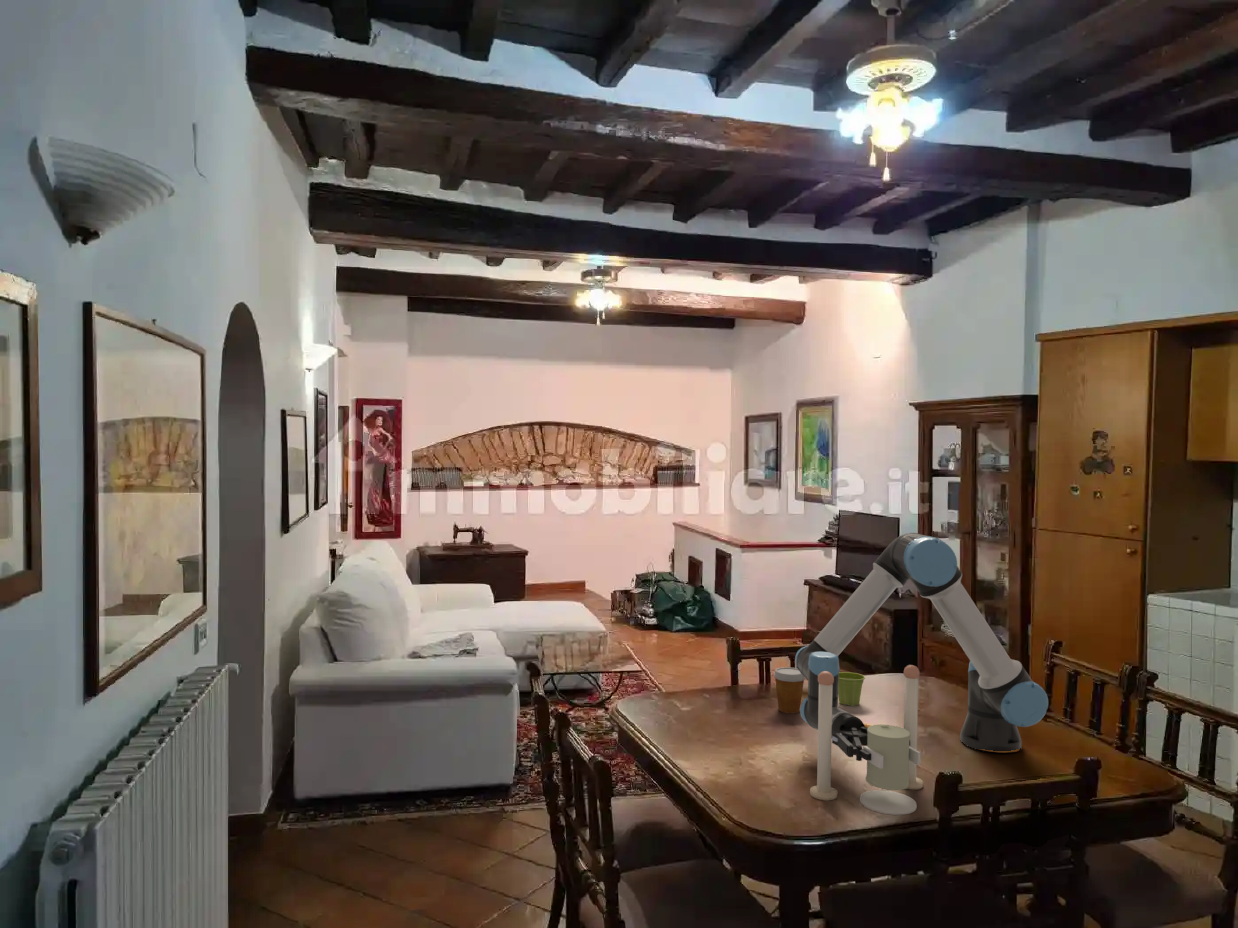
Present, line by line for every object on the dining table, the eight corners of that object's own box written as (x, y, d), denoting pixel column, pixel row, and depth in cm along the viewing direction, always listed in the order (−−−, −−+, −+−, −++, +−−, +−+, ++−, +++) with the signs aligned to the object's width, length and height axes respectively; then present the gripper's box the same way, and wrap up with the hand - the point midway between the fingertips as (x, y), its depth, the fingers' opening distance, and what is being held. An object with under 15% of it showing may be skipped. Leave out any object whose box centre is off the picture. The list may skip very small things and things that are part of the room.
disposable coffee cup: (805, 716, 252) (806, 675, 252) (772, 713, 254) (773, 673, 253) (804, 706, 261) (805, 667, 261) (773, 704, 263) (774, 665, 263)
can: (900, 774, 194) (901, 722, 194) (915, 790, 185) (916, 735, 185) (860, 774, 194) (861, 721, 194) (873, 790, 185) (875, 735, 184)
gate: (912, 778, 204) (914, 661, 204) (928, 787, 199) (930, 667, 198) (805, 791, 196) (807, 668, 195) (818, 801, 190) (821, 675, 189)
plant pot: (827, 700, 269) (828, 672, 269) (853, 697, 271) (854, 670, 271) (844, 708, 260) (844, 680, 260) (870, 706, 263) (871, 678, 262)
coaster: (915, 796, 193) (915, 794, 193) (917, 818, 182) (917, 815, 182) (860, 789, 197) (861, 787, 197) (859, 810, 186) (859, 807, 185)
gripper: (881, 739, 210) (941, 772, 188) (803, 746, 203) (857, 782, 182) (882, 709, 210) (942, 739, 188) (804, 715, 203) (858, 747, 182)
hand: (900, 760), depth 185 cm, fingers closed on can, 9 cm apart
